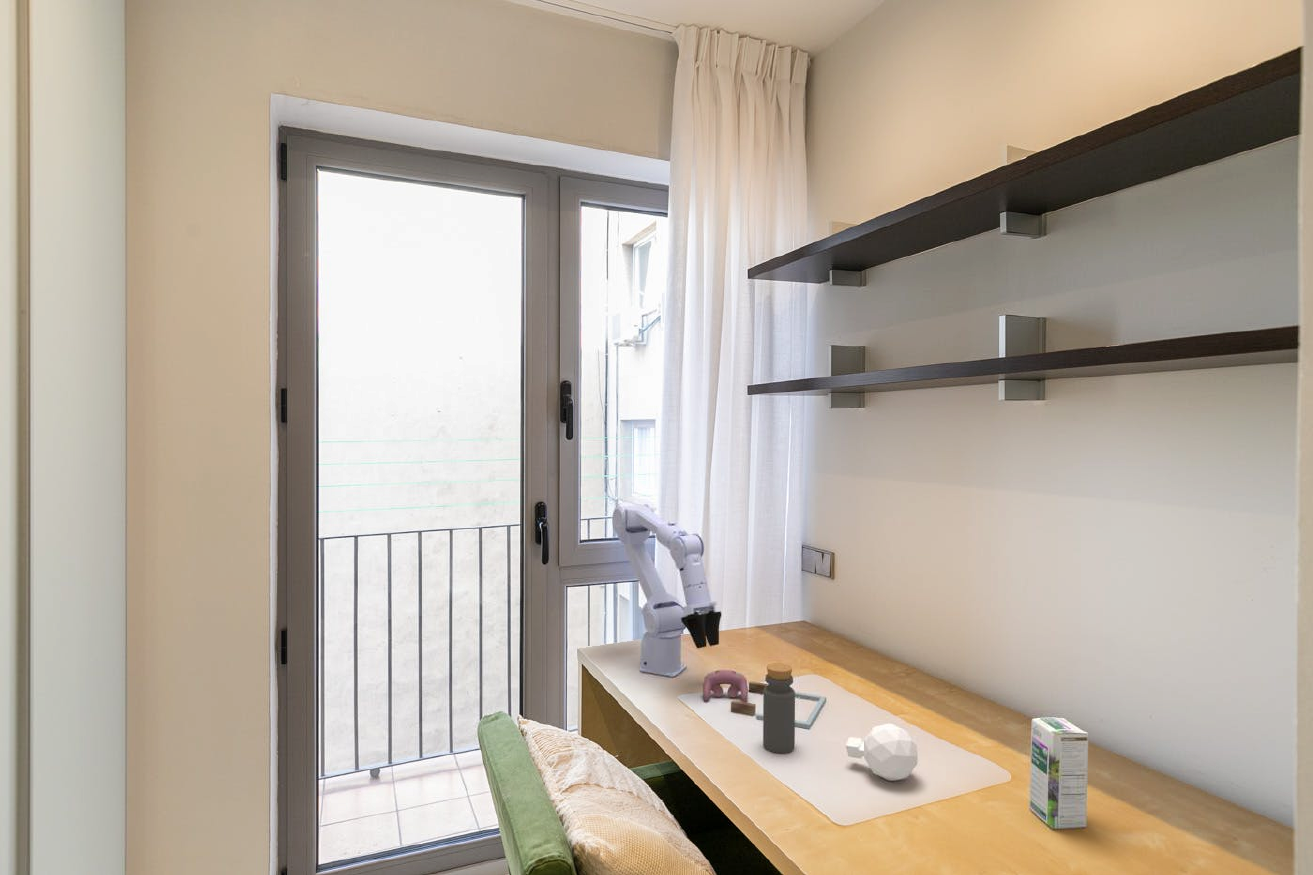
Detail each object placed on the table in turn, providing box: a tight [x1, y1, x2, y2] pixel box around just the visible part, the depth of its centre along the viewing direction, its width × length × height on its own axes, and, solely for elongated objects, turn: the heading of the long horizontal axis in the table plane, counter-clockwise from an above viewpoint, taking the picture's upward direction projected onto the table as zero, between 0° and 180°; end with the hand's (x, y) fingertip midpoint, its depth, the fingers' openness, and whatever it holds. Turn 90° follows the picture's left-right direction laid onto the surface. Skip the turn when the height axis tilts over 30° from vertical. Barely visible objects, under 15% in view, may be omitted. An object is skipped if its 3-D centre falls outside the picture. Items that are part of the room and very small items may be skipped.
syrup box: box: [1029, 716, 1089, 830], centre depth 106 cm, size 6×6×14 cm
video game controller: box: [702, 669, 749, 703], centre depth 153 cm, size 10×5×7 cm, turn 84°
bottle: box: [762, 662, 796, 754], centre depth 130 cm, size 6×6×15 cm
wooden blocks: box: [730, 681, 769, 716], centre depth 151 cm, size 5×13×2 cm, turn 155°
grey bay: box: [755, 691, 827, 730], centre depth 147 cm, size 11×16×1 cm
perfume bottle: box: [845, 722, 919, 782], centre depth 120 cm, size 9×9×12 cm
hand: (708, 646), depth 156 cm, fingers open, 7 cm apart
